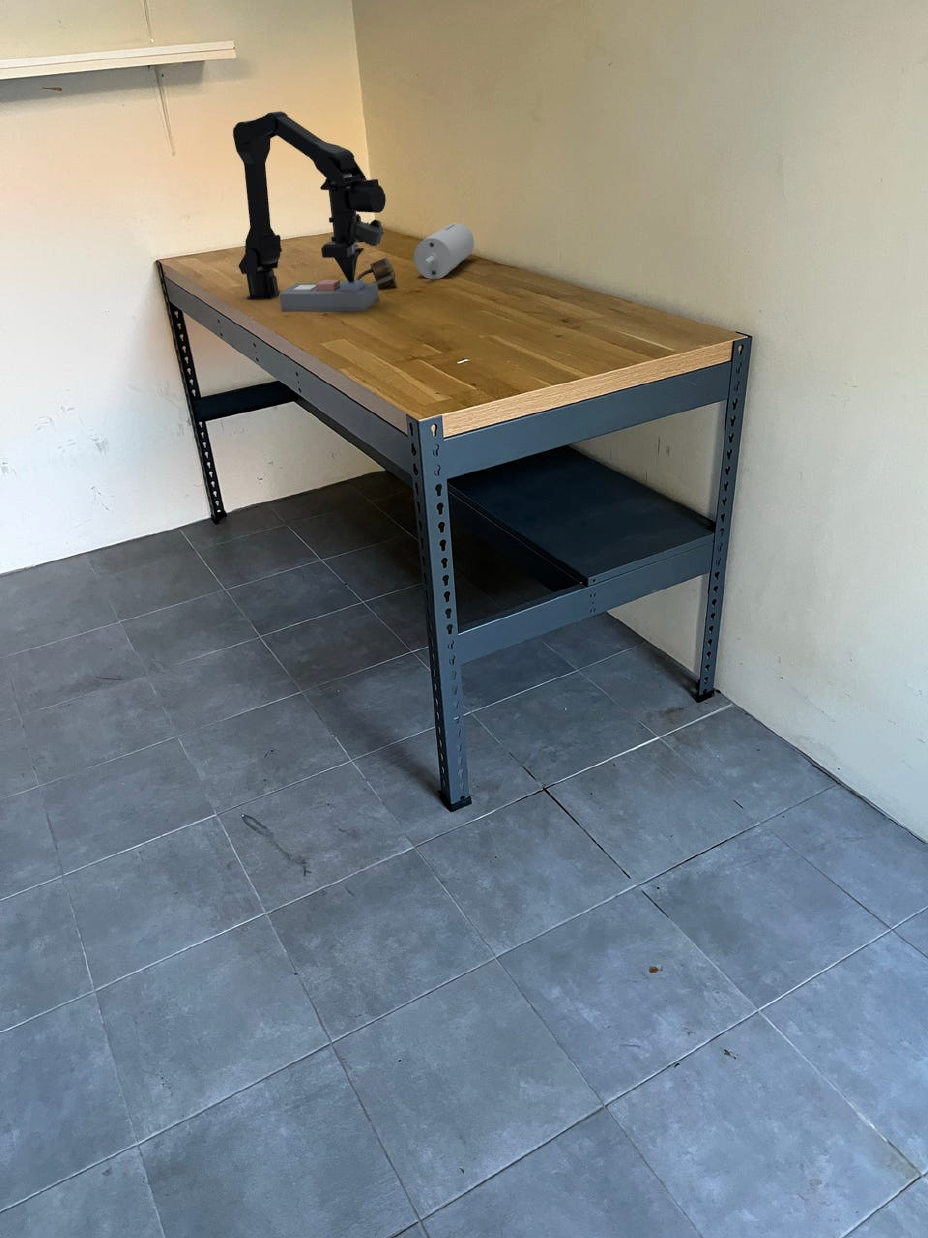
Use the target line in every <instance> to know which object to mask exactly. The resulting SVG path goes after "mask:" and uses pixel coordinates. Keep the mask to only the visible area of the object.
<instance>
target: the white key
mask: <svg viewBox="0 0 928 1238" xmlns="http://www.w3.org/2000/svg"><path fill="white" fill-rule="evenodd" d="M315 288H316V285H299V286H298V287H296V288H295V289H293V291H312V290H313V289H315Z"/></svg>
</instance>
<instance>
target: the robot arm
mask: <svg viewBox="0 0 928 1238" xmlns="http://www.w3.org/2000/svg"><path fill="white" fill-rule="evenodd" d="M232 136H233V142H234V146H235V150H236V152H237V155H238V156H239V158H240V160H241V161H242V162H243V168H244V177H245V178H244V179H245V180H244V181H245V187H246V198H247V199H246V200H247V208H248V218H249V230H248V232H247V235H246V238H245V243H244V246H245V247H244V250H245V251H244V252H245V254H244V255H243V257H242V259H241V260H240V262H239V264H238V268H239V270H240V273H241V274H242V275H246V281H247V288H248V293H249V294H248V295H247V297H246V299H248V300H249V299H250V300H251V299H254V300H259V299H260V300H261V299H265V300H266V299H267V300H270V299H272V298H274V297H276V296H277V295H279V294H280V293H281V292H280V290H279V285H278V278H277V276H276V275H275V272H274V271H275V269H278V268H279V267H278V266H279V260H280V258H281V253H282V252H283V249H282V246H281V239H282V238H281V236H280V234H276V233H275V231H274V230H273V229H272V227H271V217H270V204H269V194H268V193H269V192H268V181H267V180H268V179H267V170H266V162H267V159H268V157H269V154H270V151H271V139H273V138H275V137H279V138H280V139H282V140H283V142H286V143H288V144H289V145H290V146H292V147H294V149H296V150H297V151H299V152H300V153H302V154H303V155H305V157H307V158H309V159H310V160H311V161H312V162H313V164H314V166H315V168H316V170H317V171H319V173H320V174H321V175H323V177H324V178H325V180H324V182H323V183H322V185H320V190H321V191H328V197H329V207H330V213H331V214H330V217H328V223H329V224H331V223H332V224H331V225H332V233H333V235H332V236H331V237H330V240H331V241H328V242H326V243H324V244H323V245H322V247H321V249H320V251H321V258H324V259H334V260H335V261H336V263H337V265H338V266H339V268H340V269H341V271H342V273H343V275H344V277H345V278H346V280H348V282H354V280H355V277H356V271H357V264H358V258H359V256H360V255H361V254H362V252H364V251H365V247H359V245H358V244H357V243H365V244H366V245H368V246H370V247H371V246H372V247H377V245H380V243H381V239H382V236H383V235H384V228H383V227H382V223H381V221H380V220H379V219H373V220H372V221H371V222H370V223H369V222H364V221H362V218H361V215H360V214H359V213H377V214H379V213H381V212H382V211H383V210H384V209H385V208H386V207H385V206H386V201H387V200H386V193H385V192H384V189H383V187H382V186H381V185H380V184H379V179H377V178H371V179H367V177H366V176H365V174H364V172H363V171H362V169H361V168H360V166H359V164H358V163H357V162H356V159H355V155H354V153H352V151H350V150H349V149H347V148H345V147H342V146H340V145H338V144H334V143H329V142H327V141H324V140H322V139H321V138H319V137H318V136H317V135H315V134H314V133H312V132H311V131H310V130H308V129H306V128H305V127H304V126H302V125H301V124H299V123H298V122H297V121H295V120H294V119H292V118H291V117H289V115H288V114H287V113H286V112H284V111H281V110H280V111H273V112H272V111H271V112H267V113H266V114H265V115H263V116H261V117H258V118H256V119H253V120H246V121H239V122H237V123H236V124H235V126H234V127H233V128H232Z"/></svg>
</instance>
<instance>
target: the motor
mask: <svg viewBox="0 0 928 1238" xmlns="http://www.w3.org/2000/svg"><path fill="white" fill-rule="evenodd" d="M474 247H475V239H474V234H473V233H472V231H471V230H470V228H468V226H466V225H464V224H462V223H458V222H454V223H450V224H447V226H445V227H443V228H441V229H440V230H439V231H436V232H434V233H433V234H431V235H429V236H428V237H426V238H425V239H423V240H422V241H420V242H419V243H418V244H417V246H416V247H415V250H414V253H413V260H414V266H415V267H416V269H417V271H418V273H419V274H420V275H421V276H423V277H425V278H427V279H429V280H439V279H442V278H443V277H445V276H446V275H448V274H449V273H450V272H451V271H453V270H454V269H455V268H456V267H457V266H458V265H460V263H462V262H463V261H464V260H465V259H467V258H468V257H469V256H470V255H471V254H472V252H473V251H474Z"/></svg>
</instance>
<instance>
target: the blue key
mask: <svg viewBox="0 0 928 1238" xmlns="http://www.w3.org/2000/svg"><path fill="white" fill-rule="evenodd" d="M340 283H341V284H340V290H341V291H359V290H361V289H362V288H364V283H365V282H364V279H360V280H356V279H354V282H348V280H347V279H345V280H343V281H342V282H340Z"/></svg>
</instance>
